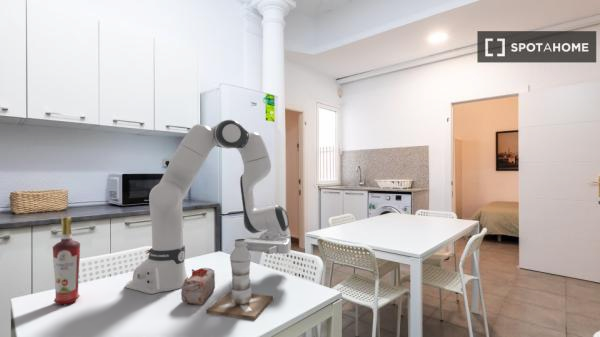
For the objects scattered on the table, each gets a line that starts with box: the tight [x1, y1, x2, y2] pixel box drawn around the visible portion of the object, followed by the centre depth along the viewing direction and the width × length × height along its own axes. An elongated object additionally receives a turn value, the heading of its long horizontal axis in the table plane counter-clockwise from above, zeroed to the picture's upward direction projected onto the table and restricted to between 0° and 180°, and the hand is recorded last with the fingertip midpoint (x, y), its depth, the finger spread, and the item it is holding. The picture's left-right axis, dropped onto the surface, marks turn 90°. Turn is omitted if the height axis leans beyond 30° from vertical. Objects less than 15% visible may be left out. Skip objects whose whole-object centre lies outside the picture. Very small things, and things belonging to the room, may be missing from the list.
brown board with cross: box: [205, 290, 274, 321], centre depth 101 cm, size 16×15×1 cm
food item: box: [180, 267, 216, 306], centre depth 107 cm, size 14×8×10 cm, turn 178°
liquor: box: [52, 216, 81, 306], centre depth 104 cm, size 7×7×28 cm
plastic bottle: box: [229, 238, 253, 305], centre depth 101 cm, size 6×7×20 cm
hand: (255, 250), depth 113 cm, fingers open, 8 cm apart
